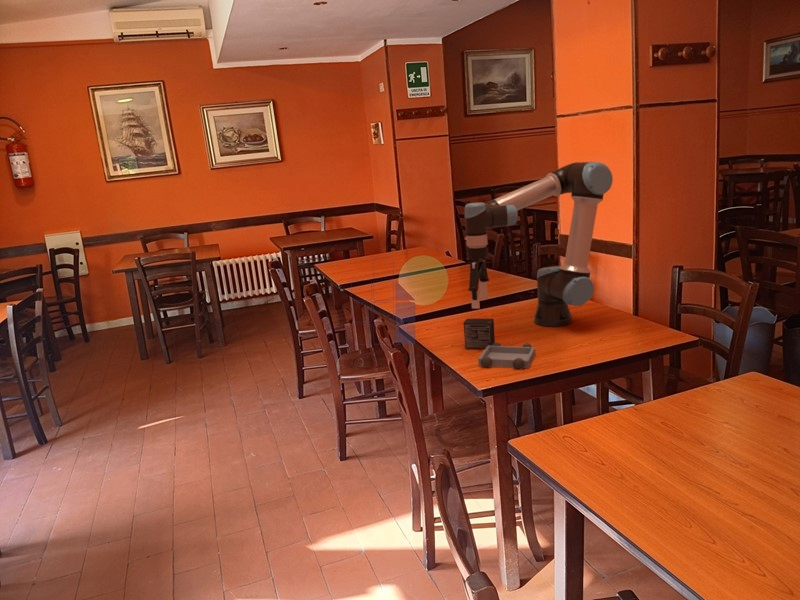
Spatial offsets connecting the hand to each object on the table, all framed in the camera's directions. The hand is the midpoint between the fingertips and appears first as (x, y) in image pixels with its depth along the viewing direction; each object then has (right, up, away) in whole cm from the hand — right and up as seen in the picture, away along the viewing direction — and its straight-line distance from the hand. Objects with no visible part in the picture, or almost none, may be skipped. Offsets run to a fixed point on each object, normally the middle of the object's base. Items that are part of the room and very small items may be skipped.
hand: (480, 303), depth 221 cm
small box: (+1, -17, +5) cm, 17 cm away
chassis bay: (+8, -20, -12) cm, 24 cm away
